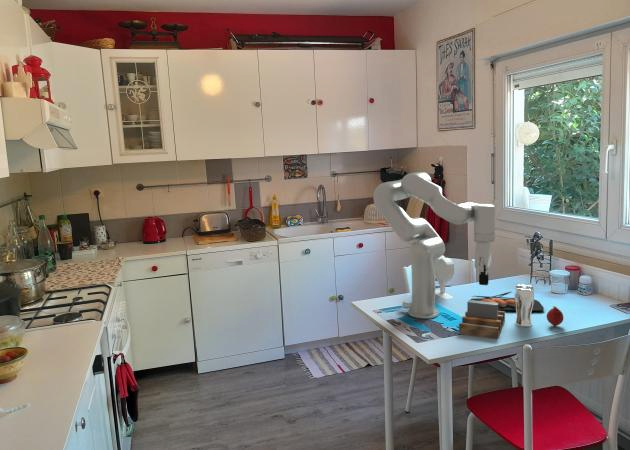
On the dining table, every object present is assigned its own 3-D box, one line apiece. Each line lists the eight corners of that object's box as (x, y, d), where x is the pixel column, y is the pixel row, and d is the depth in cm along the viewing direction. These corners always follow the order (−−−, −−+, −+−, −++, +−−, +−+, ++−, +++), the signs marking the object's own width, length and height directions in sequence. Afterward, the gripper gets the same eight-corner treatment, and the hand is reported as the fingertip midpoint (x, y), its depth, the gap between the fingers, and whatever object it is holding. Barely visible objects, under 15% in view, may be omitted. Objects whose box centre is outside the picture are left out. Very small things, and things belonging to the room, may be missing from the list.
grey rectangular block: (467, 324, 202) (467, 302, 200) (468, 321, 205) (468, 299, 203) (496, 328, 197) (497, 305, 196) (497, 325, 200) (498, 302, 198)
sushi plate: (472, 312, 219) (472, 304, 218) (464, 292, 248) (464, 284, 248) (545, 314, 214) (546, 305, 213) (529, 292, 243) (529, 285, 243)
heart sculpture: (430, 290, 251) (430, 254, 248) (439, 289, 252) (439, 253, 249) (445, 299, 236) (445, 261, 233) (455, 298, 237) (455, 260, 234)
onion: (558, 323, 202) (559, 303, 201) (565, 328, 197) (566, 308, 195) (543, 323, 202) (544, 304, 201) (550, 329, 197) (551, 309, 195)
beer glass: (517, 319, 207) (518, 283, 205) (535, 323, 203) (536, 286, 201) (511, 325, 202) (512, 287, 200) (529, 328, 198) (531, 290, 195)
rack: (458, 333, 195) (458, 322, 195) (468, 316, 213) (468, 306, 212) (497, 339, 189) (498, 327, 188) (504, 321, 207) (505, 310, 206)
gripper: (477, 233, 203) (476, 278, 206) (470, 240, 190) (469, 288, 193) (497, 234, 200) (496, 280, 203) (491, 241, 187) (491, 290, 190)
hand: (483, 284), depth 198 cm, fingers closed
